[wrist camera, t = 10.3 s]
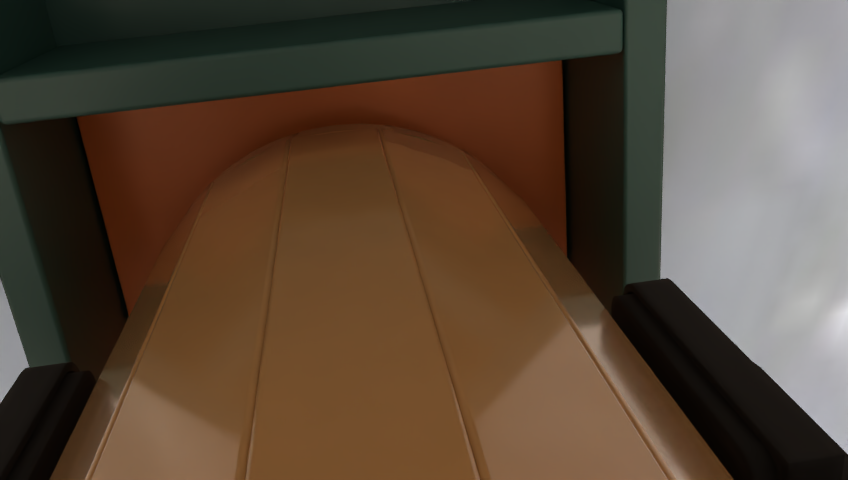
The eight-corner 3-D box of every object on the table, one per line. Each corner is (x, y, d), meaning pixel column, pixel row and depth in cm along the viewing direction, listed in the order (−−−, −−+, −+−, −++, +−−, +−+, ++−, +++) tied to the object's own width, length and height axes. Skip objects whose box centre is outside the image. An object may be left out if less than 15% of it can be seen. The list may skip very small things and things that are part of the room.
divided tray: (155, 500, 17) (117, 640, 13) (-173, -687, 10) (-421, -996, 6) (592, 432, 17) (654, 548, 14) (576, -715, 10) (694, -1001, 7)
